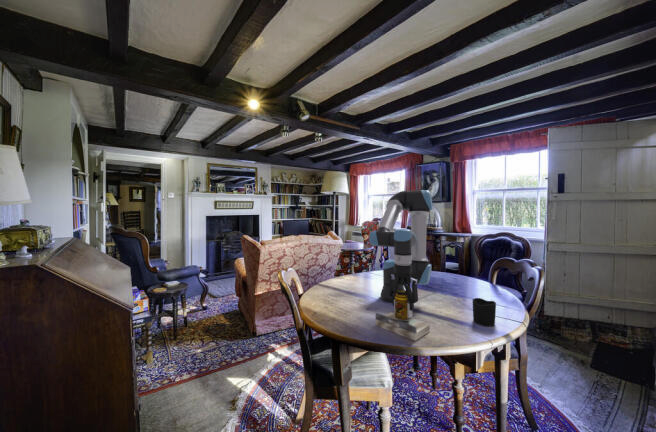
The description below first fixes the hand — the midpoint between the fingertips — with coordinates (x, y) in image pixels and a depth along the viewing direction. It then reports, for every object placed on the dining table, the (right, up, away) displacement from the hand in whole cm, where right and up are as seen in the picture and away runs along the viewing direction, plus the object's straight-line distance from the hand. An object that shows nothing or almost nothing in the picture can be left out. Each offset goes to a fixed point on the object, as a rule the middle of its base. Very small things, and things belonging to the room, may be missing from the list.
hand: (403, 314), depth 120 cm
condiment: (0, -1, 0) cm, 1 cm away
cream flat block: (-1, -6, 0) cm, 6 cm away
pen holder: (+39, -5, +4) cm, 39 cm away
